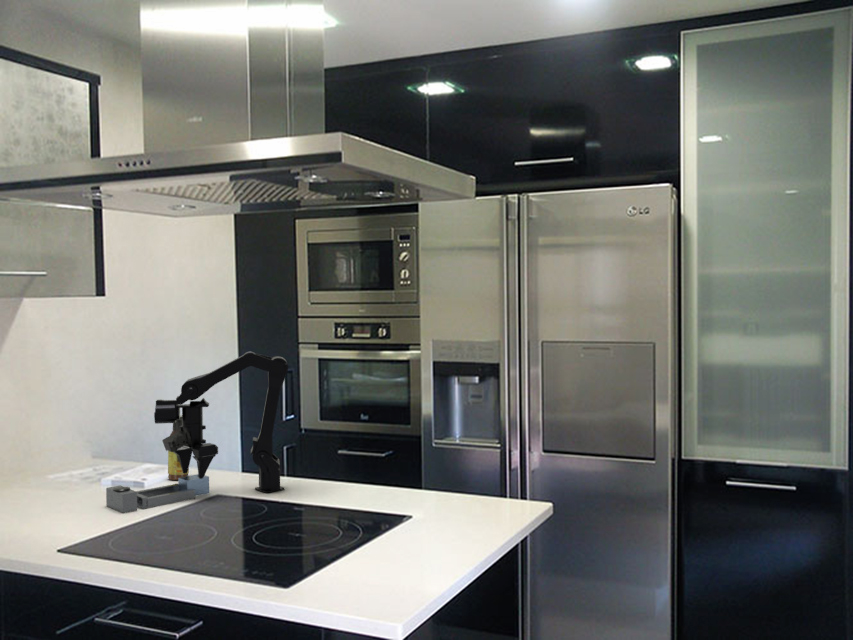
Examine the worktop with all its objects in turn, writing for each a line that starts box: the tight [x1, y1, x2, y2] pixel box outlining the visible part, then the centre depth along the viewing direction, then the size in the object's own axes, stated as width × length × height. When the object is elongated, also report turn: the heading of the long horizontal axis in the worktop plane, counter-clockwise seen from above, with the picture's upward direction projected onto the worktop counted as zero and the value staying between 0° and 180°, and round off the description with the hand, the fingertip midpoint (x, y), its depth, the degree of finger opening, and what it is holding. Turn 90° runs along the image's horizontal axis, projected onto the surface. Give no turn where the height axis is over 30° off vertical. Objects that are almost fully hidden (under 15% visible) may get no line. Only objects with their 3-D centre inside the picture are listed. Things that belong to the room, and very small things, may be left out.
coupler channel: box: [105, 483, 196, 514], centre depth 220 cm, size 11×21×5 cm, turn 136°
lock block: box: [177, 473, 210, 497], centre depth 230 cm, size 5×7×5 cm
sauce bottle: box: [167, 414, 190, 481], centre depth 248 cm, size 6×6×20 cm
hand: (193, 475), depth 229 cm, fingers open, 9 cm apart
